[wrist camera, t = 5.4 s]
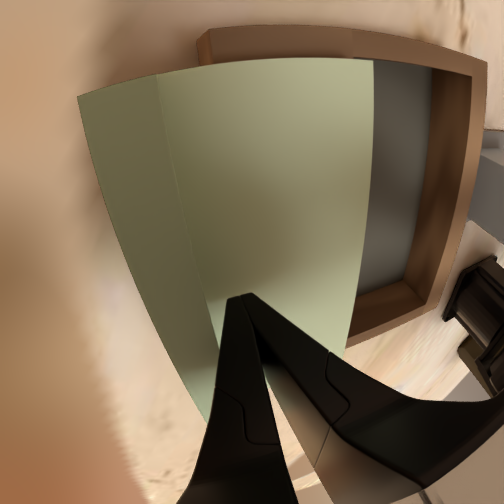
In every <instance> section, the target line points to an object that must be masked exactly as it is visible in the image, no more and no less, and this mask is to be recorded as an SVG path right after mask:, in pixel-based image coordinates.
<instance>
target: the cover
mask: <svg viewBox="0 0 504 504" xmlns="http://www.w3.org/2000/svg"><path fill="white" fill-rule="evenodd" d="M77 99H78V104H79V109H80V113H81V118H82V122H83V126H84V130H85V135H86V138H87V142H88V146H89V150H90V154H91V157H92V161H93V165H94V168H95V171H96V175H97V178H98V182H99V185H100V188H101V191H102V194H103V198H104V201H105V204H106V207H107V210H108V213H109V216H110V219H111V221H112V224H113V227H114V230H115V233H116V235H117V238H118V241H119V244H120V246H121V249H122V251H123V254H124V257H125V259H126V262H127V264H128V267H129V269H130V272H131V274H132V277H133V279H134V281H135V284H136V286H137V288H138V291H139V293H140V295H141V298H142V300H143V302H144V305H145V307H146V309H147V311H148V313H149V316H150V318H151V320H152V322H153V324H154V326H155V328H156V331H157V333H158V335H159V337H160V339H161V341H162V343H163V345H164V347H165V349H166V351H167V353H168V355H169V357H170V359H171V361H172V363H173V365H174V366H175V368H176V370H177V372H178V374H179V376H180V378H181V380H182V381H183V383H184V385H185V387H186V389H187V390H188V392H189V394H190V396H191V398H192V399H193V401H194V403H195V405H196V406H197V408H198V410H199V411H200V413H201V415H202V416H203V418H204V420H205V421H206V423H207V424H208V420H209V416H210V411H211V405H212V399H213V392H214V388H215V378H216V371H217V364H218V357H219V349H220V342H221V335H222V328H223V321H224V314H225V307H226V301H227V299H228V298H230V297H234V296H240V295H242V294H245V293H249V292H252V293H254V294H255V295H257V296H258V297H259V298H260V299H262V300H263V301H264V302H266V303H267V304H268V305H270V306H271V307H272V308H273V309H275V310H276V311H277V312H279V313H280V314H281V315H283V316H284V317H285V318H287V319H288V320H289V321H291V322H292V323H293V324H295V325H296V326H297V327H299V328H300V329H301V330H303V331H304V332H305V333H307V334H308V335H309V336H311V337H312V338H313V339H315V340H316V341H317V342H319V343H320V344H321V345H323V346H324V347H325V348H327V349H328V350H329V352H330V351H331V352H332V353H334V354H335V355H337V356H338V357H339V358H341V359H343V354H344V350H345V346H346V341H347V337H348V332H349V327H350V322H351V317H352V312H353V307H354V302H355V296H356V291H357V285H358V279H359V273H360V266H361V260H362V253H363V245H364V238H365V230H366V221H367V212H368V202H369V192H370V180H371V165H372V148H373V119H374V77H373V61H371V60H359V59H342V58H278V59H261V60H248V61H238V62H228V63H220V64H213V65H206V66H199V67H193V68H188V69H182V70H177V71H172V72H167V73H162V74H153V75H148V76H144V77H140V78H136V79H132V80H129V81H125V82H121V83H118V84H114V85H111V86H108V87H104V88H101V89H98V90H95V91H92V92H89V93H86V94H83V95H80V96H77ZM265 379H266V378H265ZM266 384H267V388H270V385H269V383H268V382H267V380H266Z"/></svg>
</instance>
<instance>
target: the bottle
mask: <svg viewBox="0 0 504 504" xmlns="http://www.w3.org/2000/svg"><path fill="white" fill-rule="evenodd" d="M503 348H504V345H503V346H502V347H501V349H500V350H499V351H498V352H497V353H496V355H495V357H496V356H497V355H498V354H499V352H500V351H501V350H502V349H503ZM458 351H459V357H460V358H461V359H462V361H463V362H464V363H465V364H466V366H467V367H468V368H469V370H470V371H471V372H472V373H473V375H474V376H475V377H476V379H477V380H478V381H479V383H480V384H481V385H482V387H483V388H484V389H485V390H486V392H487V393H488V394H489V396H490V397H491V398H493V397H492V394H491V392H490V390H489V388H488V386H487V385H486V383H485V381H484V379H483V377H482V376H481V374H480V372H479V370H478V369H477V365H476V364H475V362H474V360H475V359H476V358H477V357H478V356H480V355H481V353H482V352H483V351H484V350H483V349H482V348H481V347H480V346H479V344H478V343H477V342H476V341H475V340H474V338H473V337H472V336H471V335H470V336H469V337H468V338H467V339H466V340H465V341H464V342H463V343H462V344H461V345H460V346H459V347H458Z"/></svg>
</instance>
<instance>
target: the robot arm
mask: <svg viewBox="0 0 504 504" xmlns="http://www.w3.org/2000/svg"><path fill="white" fill-rule="evenodd" d="M496 261H497V257H496V256H495V255H493V256H491V257H489V258H487V259H485V260H483V261H482V262H480V263H478V264H476V265H474V266H472V267H470V268H468V269H466V270H464V271H463V272H462V273H461V275H460V277H459V280H458V282H457V285H456V287H455V290H454V292H453V295H452V297H451V300H450V302H449V304H448V306H447V309H446V311H445V313H444V315H443V318H442V320H443V321H444V322H447V321H448V320H450V319H452V318H453V317H455V318H456V319H457V320H458V321H459V323H460V324H461V325H462V326H463V327H464V328H465V329H466V330H467V332H468V333H469V334H470V335H471V336H472V337H473V338H474V340H475V341H476V342H477V343H478V344H479V346H480V347H481V348H482V349H483V350H484V351H483V352H482V353H481V355H480V356H478V357H477V358H476V359H475V360H474V362H475V364H476V365H477V369H478V370H479V372H480V374H481V376H482V377H483V379H484V381H485V383H486V385H487V386H488V388H489V390H490V392H491V394H492V397H493V398H491V399H489V400H485V401H479V402H456V401H432V400H420V399H415V398H412V397H409V396H406V395H404V394H402V393H400V392H398V391H396V390H394V389H392V388H390V387H388V386H386V385H385V384H383V383H381V382H379V381H377V380H375V379H373V378H371V377H370V376H368V375H366V374H364V373H363V372H361V371H359V370H357V369H356V368H354V367H352V366H351V365H349V364H348V363H347V362H345V361H344V360H342V359H341V358H339V357H338V356H337V355H335V354H334V353H332V352H331V351H330V352H329V350H328V349H327V348H325V347H324V346H323V345H321V344H320V343H319V342H317V341H316V340H315V339H313V338H312V337H311V336H309V335H308V334H307V333H305V332H304V331H303V330H301V329H300V328H299V327H297V326H296V325H295V324H293V323H292V322H291V321H289V320H288V319H287V318H285V317H284V316H283V315H281V314H280V313H279V312H277V311H276V310H275V309H273V308H272V307H271V306H270V305H268V304H267V303H266V302H264V301H263V300H262V299H260V298H259V297H258V296H257V295H255V294H254V293H252V292H249V293H245V294H242V295H240V296H234V297H230V298H228V299H227V301H226V307H225V314H224V321H223V328H222V335H221V342H220V349H219V357H218V364H217V371H216V378H215V388H214V392H213V399H212V405H211V411H210V416H209V420H208V424H207V428H206V432H205V435H204V439H203V442H202V446H201V449H200V452H199V456H198V459H197V463H196V466H195V469H194V472H193V475H192V477H191V480H190V482H189V484H188V486H187V488H186V489H185V491H184V493H183V494H182V496H181V497H180V499H179V500H178V502H177V503H176V504H299V503H298V500H297V497H296V494H295V491H294V487H293V484H292V481H291V479H290V475H289V472H288V469H287V466H286V462H285V458H284V455H283V451H282V447H281V443H280V438H279V434H278V430H277V426H276V422H275V418H274V413H273V409H272V405H271V401H270V396H269V392H268V388H267V384H266V380H267V382H268V383H269V385H270V387H271V389H272V391H273V393H274V395H275V397H276V399H277V401H278V403H279V405H280V407H281V409H282V411H283V413H284V414H285V416H286V418H287V420H288V422H289V424H290V426H291V428H292V430H293V431H294V433H295V435H296V437H297V439H298V441H299V443H300V444H301V446H302V448H303V450H304V452H305V454H306V455H307V457H308V459H309V461H310V463H311V465H312V466H313V468H314V470H315V472H316V474H317V475H318V477H319V479H320V481H321V482H322V484H323V486H324V487H325V489H326V491H327V493H328V495H329V496H330V498H331V500H332V501H333V503H334V504H504V348H503V349H502V350H501V351H500V352H499V354H498V355H497V356H496V357H495V355H496V353H497V352H498V351H499V350H500V349H501V347H502V346H503V345H504V269H503V268H502V267H501V266H500V265H499V264H498V263H497V262H496ZM265 378H266V379H265Z"/></svg>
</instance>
